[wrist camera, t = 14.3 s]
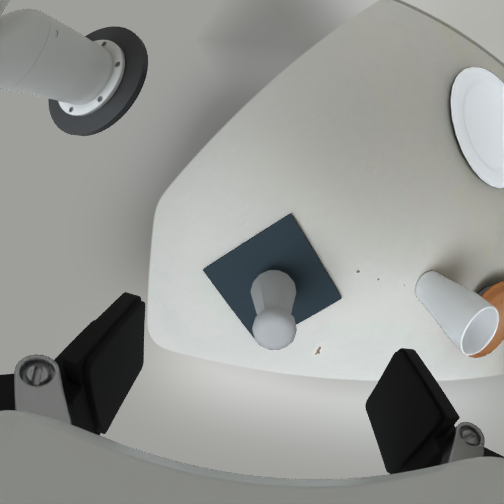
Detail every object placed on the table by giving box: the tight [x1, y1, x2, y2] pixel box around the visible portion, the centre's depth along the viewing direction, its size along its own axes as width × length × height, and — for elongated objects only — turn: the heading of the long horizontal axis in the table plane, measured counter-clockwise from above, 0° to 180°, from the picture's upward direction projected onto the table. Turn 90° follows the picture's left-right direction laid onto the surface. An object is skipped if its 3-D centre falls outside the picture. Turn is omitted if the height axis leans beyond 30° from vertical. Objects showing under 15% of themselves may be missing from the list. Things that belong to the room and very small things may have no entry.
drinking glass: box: [415, 271, 499, 355], centre depth 30 cm, size 7×7×15 cm
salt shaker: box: [251, 270, 297, 350], centre depth 32 cm, size 6×6×13 cm
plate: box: [450, 67, 504, 188], centre depth 29 cm, size 21×21×2 cm
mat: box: [203, 214, 341, 339], centre depth 39 cm, size 14×14×1 cm
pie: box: [468, 281, 504, 358], centre depth 36 cm, size 16×16×5 cm
